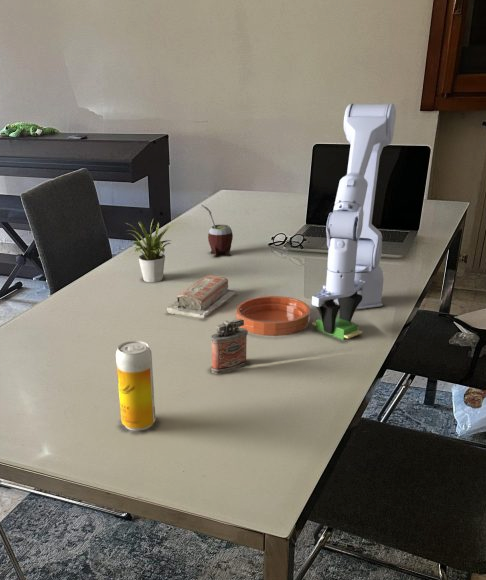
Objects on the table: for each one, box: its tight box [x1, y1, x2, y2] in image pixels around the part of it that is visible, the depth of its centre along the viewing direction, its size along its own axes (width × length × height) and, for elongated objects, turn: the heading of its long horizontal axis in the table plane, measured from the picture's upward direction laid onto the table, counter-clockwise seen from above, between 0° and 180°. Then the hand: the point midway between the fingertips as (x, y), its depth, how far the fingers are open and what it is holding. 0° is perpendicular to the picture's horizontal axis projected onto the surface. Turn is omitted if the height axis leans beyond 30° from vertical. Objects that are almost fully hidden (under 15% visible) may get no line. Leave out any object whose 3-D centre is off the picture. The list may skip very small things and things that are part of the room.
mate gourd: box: [200, 204, 234, 258], centre depth 210 cm, size 8×8×15 cm
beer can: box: [115, 340, 156, 432], centre depth 128 cm, size 6×6×15 cm
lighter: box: [210, 318, 249, 375], centre depth 147 cm, size 8×3×10 cm, turn 117°
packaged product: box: [166, 274, 237, 319], centre depth 179 cm, size 18×5×10 cm
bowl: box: [235, 295, 311, 336], centre depth 167 cm, size 16×16×4 cm
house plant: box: [125, 219, 175, 283], centre depth 195 cm, size 14×14×16 cm
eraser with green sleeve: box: [311, 316, 363, 341], centre depth 160 cm, size 4×10×3 cm, turn 35°
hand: (336, 329), depth 160 cm, fingers closed on eraser with green sleeve, 4 cm apart
